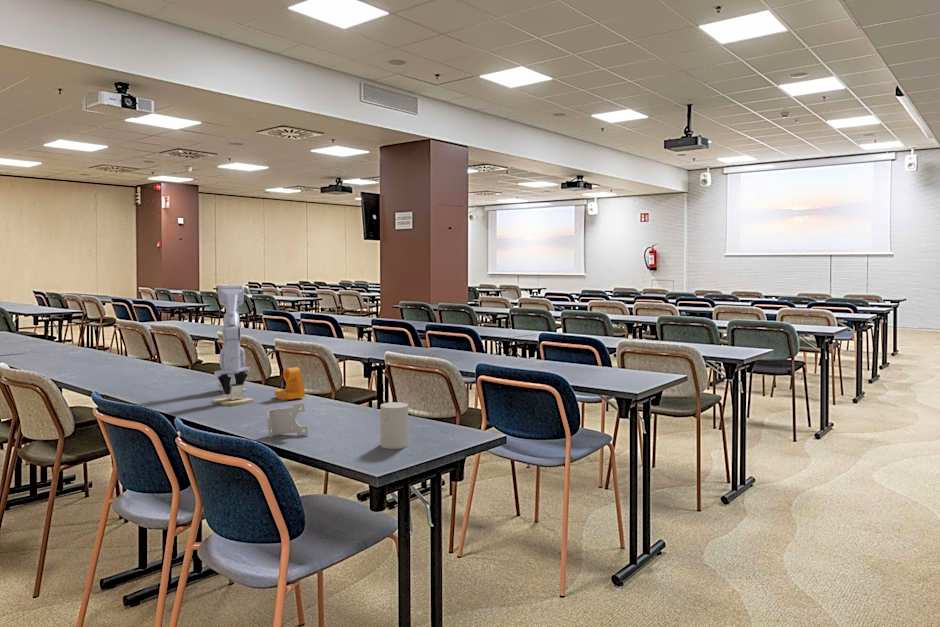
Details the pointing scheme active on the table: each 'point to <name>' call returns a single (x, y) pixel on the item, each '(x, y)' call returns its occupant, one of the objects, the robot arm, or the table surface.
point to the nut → (234, 392)
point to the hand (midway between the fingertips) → (232, 393)
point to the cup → (394, 425)
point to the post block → (232, 401)
